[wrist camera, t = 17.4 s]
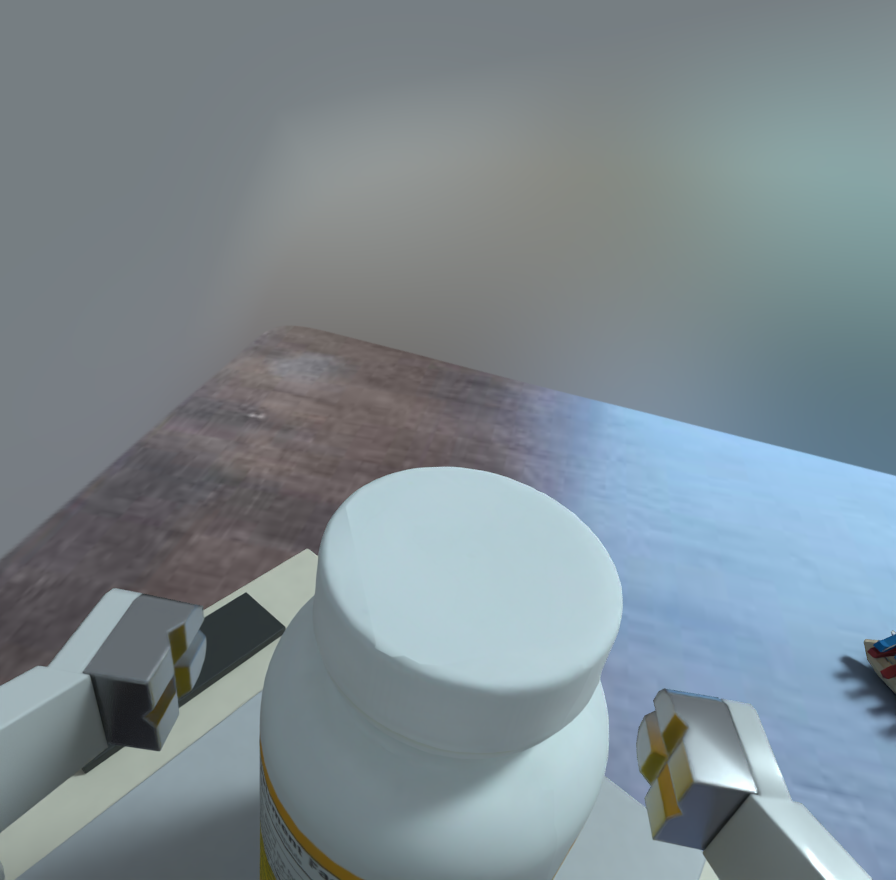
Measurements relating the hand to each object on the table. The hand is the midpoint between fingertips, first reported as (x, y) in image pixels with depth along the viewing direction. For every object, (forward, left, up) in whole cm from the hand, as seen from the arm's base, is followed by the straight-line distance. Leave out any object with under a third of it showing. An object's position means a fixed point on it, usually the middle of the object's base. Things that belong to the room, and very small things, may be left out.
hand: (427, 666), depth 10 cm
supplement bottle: (+1, -1, -6) cm, 6 cm away
